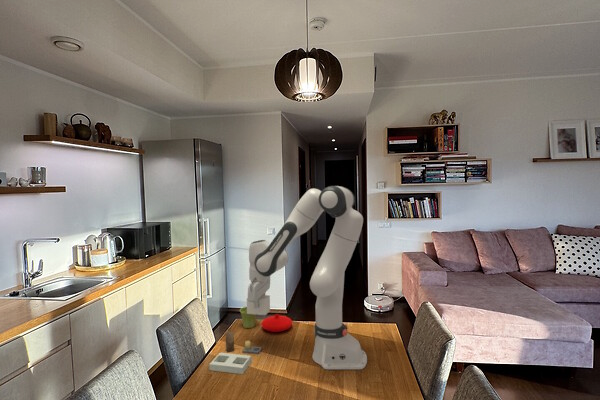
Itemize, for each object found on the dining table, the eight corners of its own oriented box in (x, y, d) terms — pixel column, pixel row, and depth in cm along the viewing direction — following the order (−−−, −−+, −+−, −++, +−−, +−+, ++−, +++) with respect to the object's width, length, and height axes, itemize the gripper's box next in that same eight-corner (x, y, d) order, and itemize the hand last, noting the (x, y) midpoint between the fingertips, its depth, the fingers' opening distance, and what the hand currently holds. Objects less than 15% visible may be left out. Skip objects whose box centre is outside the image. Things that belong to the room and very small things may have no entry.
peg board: (251, 361, 132) (251, 355, 132) (242, 374, 123) (242, 367, 123) (220, 358, 135) (220, 352, 135) (209, 370, 126) (209, 364, 126)
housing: (269, 310, 150) (269, 295, 150) (265, 315, 144) (265, 299, 144) (251, 308, 152) (251, 294, 152) (246, 313, 146) (246, 298, 146)
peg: (235, 348, 144) (235, 330, 143) (232, 352, 140) (231, 334, 140) (228, 347, 144) (227, 330, 144) (224, 351, 141) (224, 333, 141)
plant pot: (251, 320, 174) (250, 304, 173) (262, 325, 167) (261, 309, 167) (236, 326, 167) (236, 309, 167) (247, 331, 160) (246, 314, 160)
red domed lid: (255, 332, 159) (255, 318, 159) (270, 320, 174) (270, 307, 174) (284, 337, 153) (283, 323, 153) (297, 324, 168) (297, 311, 167)
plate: (261, 349, 142) (261, 340, 142) (258, 354, 138) (258, 345, 138) (246, 347, 144) (246, 339, 144) (242, 352, 140) (242, 343, 140)
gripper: (257, 282, 137) (258, 314, 137) (272, 270, 157) (272, 298, 157) (243, 281, 138) (244, 313, 139) (260, 269, 158) (260, 297, 159)
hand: (259, 305), depth 148 cm, fingers closed on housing, 6 cm apart
